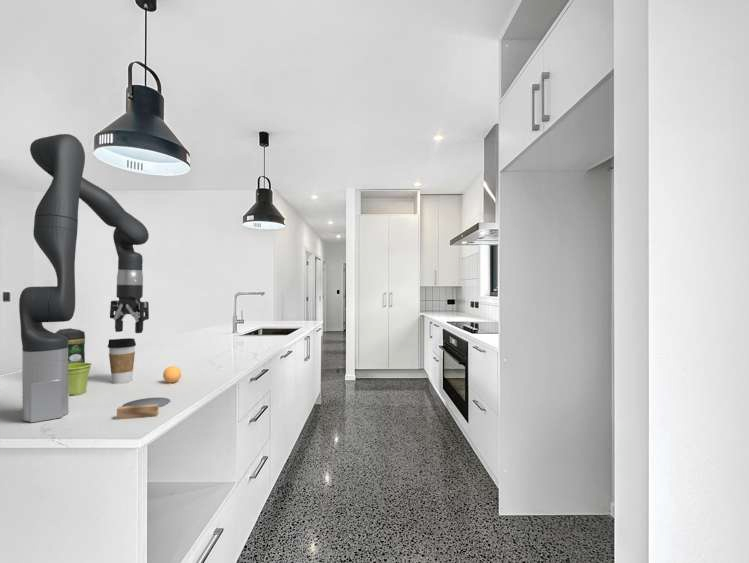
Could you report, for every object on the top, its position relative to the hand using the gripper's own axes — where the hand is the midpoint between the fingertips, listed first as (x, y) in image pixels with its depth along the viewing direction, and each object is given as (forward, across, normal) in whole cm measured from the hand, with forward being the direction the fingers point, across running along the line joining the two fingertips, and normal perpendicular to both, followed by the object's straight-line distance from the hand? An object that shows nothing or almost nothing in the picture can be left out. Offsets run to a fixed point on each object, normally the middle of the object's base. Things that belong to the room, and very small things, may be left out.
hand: (128, 332), depth 138 cm
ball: (+14, -11, -8) cm, 20 cm away
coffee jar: (+19, +24, +1) cm, 31 cm away
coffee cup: (+18, +7, -4) cm, 20 cm away
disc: (+17, -24, +15) cm, 33 cm away
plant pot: (+18, +8, +12) cm, 23 cm away
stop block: (+17, -31, +24) cm, 43 cm away
